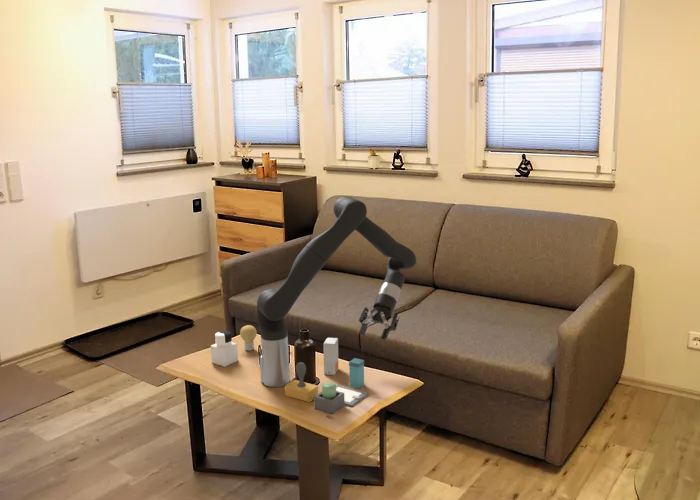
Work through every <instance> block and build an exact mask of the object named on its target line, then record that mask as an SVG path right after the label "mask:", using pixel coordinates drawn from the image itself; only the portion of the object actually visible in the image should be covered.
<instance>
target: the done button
mask: <svg viewBox="0 0 700 500" xmlns="http://www.w3.org/2000/svg"><path fill="white" fill-rule="evenodd" d="M336 386H337V384H336V383H334V382H331V381H328V382H324V383H322V385H321V392H322V397H323V398H326V399H330V400H332V399H333V398H335V397H336Z"/></svg>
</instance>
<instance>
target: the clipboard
mask: <svg viewBox="0 0 700 500" xmlns="http://www.w3.org/2000/svg"><path fill="white" fill-rule="evenodd" d="M336 391H339V392H342V393H344V403H345V406H347V407H354V406H355V405H357V404H358V403H359V402H360V401H362V400H363V399H364V398H365V397H367V396H368V392H364V391H361V390H358V389H354V388H351V387H346V386H343V385H337V384H336Z"/></svg>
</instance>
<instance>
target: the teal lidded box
mask: <svg viewBox="0 0 700 500" xmlns="http://www.w3.org/2000/svg"><path fill="white" fill-rule="evenodd" d="M348 366H349V386H350V387H352V388H356V389H360V388H361V387H363V386H364V385H365V359H360V358H356V357H354V358H352V359H351V360H349V362H348Z"/></svg>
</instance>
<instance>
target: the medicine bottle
mask: <svg viewBox="0 0 700 500" xmlns="http://www.w3.org/2000/svg"><path fill="white" fill-rule="evenodd" d="M214 339H215V343H213V344H211V345H210V353H211V354H210V355H211V363H212V364H215V365H217V366H221V367H224V368H225V367H227V366H230V365H232V364H234V363H236V362H238V361H239V354H238V343H236V342H233V341H232V340H233V339H232V332H231V331H230V330H226V329H225V330H219V331H217V332H216V333H215V334H214Z"/></svg>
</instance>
